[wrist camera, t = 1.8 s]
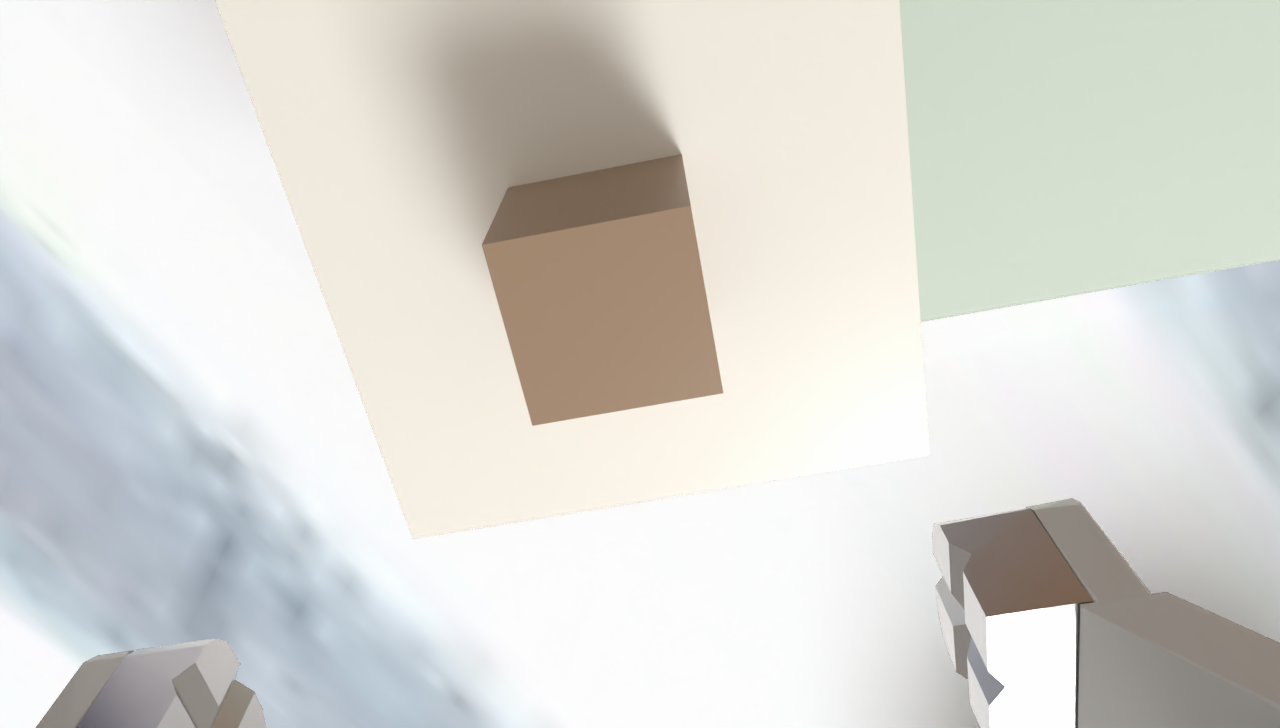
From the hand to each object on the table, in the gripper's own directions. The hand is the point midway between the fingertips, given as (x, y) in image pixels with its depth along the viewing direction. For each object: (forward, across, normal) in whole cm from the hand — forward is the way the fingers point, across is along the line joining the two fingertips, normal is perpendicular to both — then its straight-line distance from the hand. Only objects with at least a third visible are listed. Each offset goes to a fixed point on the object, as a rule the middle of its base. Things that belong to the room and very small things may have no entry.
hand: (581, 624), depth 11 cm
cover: (+14, 0, 0) cm, 14 cm away
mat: (+25, -16, 0) cm, 30 cm away
